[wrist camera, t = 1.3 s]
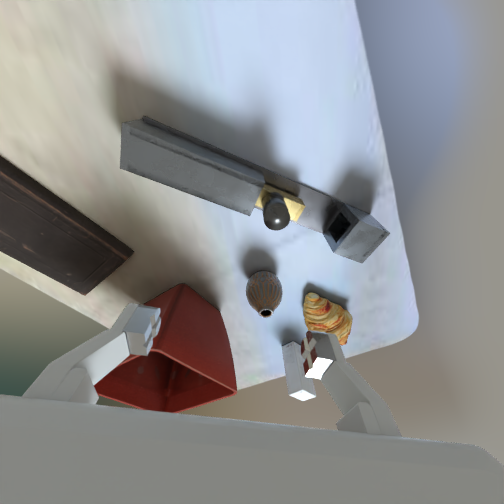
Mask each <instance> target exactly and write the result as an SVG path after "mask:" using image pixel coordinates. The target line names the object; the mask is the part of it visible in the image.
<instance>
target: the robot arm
mask: <svg viewBox="0 0 504 504" xmlns="http://www.w3.org/2000/svg"><path fill="white" fill-rule="evenodd" d="M159 315H160V308H156V307H151V306H145V305H140V304H133V303H129V304H128V305H127V306H126V307H125V309H124V310H123V312H122V313H121V315H120V316H119V317H118V319H117V320H116V322H115V323H114V325H113V326H112V328H111V329H110V330H105V331H103V332H102V333H100V334H98V335H97V336H95V337H93V338H92V339H90V340H88V341H87V342H85V343H83V344H81V345H80V346H78V347H76V348H75V349H73V350H71V351H70V352H68V353H66V354H65V355H63V356H61V357H59V358H58V359H56V360H55V361H53V362H51V363H50V364H49V365H48V366H47V367H46V368H45V369H44V371H43V372H42V373H41V374H40V375H39V377H38V378H37V379H36V380H35V381H34V383H33V384H32V385H31V386H30V387H29V389H28V390H27V391H26V392H25V393H24V394H23V396H22V397H19V396H9V395H0V504H504V466H503V465H502V464H501V463H500V462H499V461H498V460H497V459H496V458H494V457H493V456H492V455H491V454H490V453H488V452H487V451H486V450H485V449H483V448H481V447H479V446H475V445H471V444H461V443H452V442H443V441H433V440H424V439H414V438H405V437H402V436H401V434H400V431H399V429H398V427H397V425H396V422H395V420H394V418H393V416H392V414H391V411H390V409H389V407H388V405H387V403H386V402H385V401H384V400H383V399H382V398H381V397H380V396H379V395H378V394H377V393H376V392H375V391H374V389H373V388H372V387H371V386H370V385H369V384H368V383H367V382H366V381H365V380H364V379H363V377H361V375H360V374H359V373H358V372H357V371H356V370H355V369H354V368H353V367H352V366H351V365H350V363H346V360H345V357H344V354H343V352H342V349H341V346H340V344H339V341H338V338H337V336H336V335H335V334H331V333H325V332H319V331H311V330H309V331H307V333H306V338H304V339H303V340H302V342H301V356H302V357H303V358H304V360H305V361H304V363H303V367H304V372H305V376H306V377H313V378H319V379H320V380H321V381H322V383H323V385H324V386H325V388H326V389H327V391H328V392H329V394H330V395H331V397H332V398H333V400H334V401H335V403H336V404H337V406H338V408H339V409H340V411H341V412H342V414H343V415H344V416H343V417H342V418H341V419H340V420H339V421H338V422H337V423H336V425H337V429H338V430H329V429H320V428H311V427H301V426H292V425H283V424H273V423H263V422H254V421H245V420H236V419H226V418H217V417H208V416H198V415H189V414H179V413H170V412H160V411H151V410H142V409H131V408H123V407H112V406H104V405H95V404H96V402H97V400H98V394H97V392H96V390H95V387H94V385H95V384H96V383H97V382H99V381H100V380H101V379H102V378H103V377H104V376H106V375H107V374H108V373H109V372H110V371H112V370H113V369H114V368H115V367H116V366H117V365H119V364H120V363H121V362H122V361H123V360H125V359H126V358H127V357H128V356H129V355H130V354H134V355H144V356H148V353H149V351H150V349H151V347H152V345H153V338H154V337H156V336H157V334H158V331H159V328H160V325H161V318H160V316H159Z"/></svg>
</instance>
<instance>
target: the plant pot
mask: <svg viewBox="0 0 504 504" xmlns="http://www.w3.org/2000/svg"><path fill="white" fill-rule="evenodd" d="M144 305H145V306H151V307H156V308H160V315H159V316H160V318H161V325H160V328H159V331H158V334H157V336H156V337H154V338H153V345H152V347H151V349H150V351H149V353H148V356H144V355H134V354H130V355H129V356H128V357H127V358H126V359H125V360H123V361H122V362H121V363H120V364H119V365H117V366H116V367H115V368H114V369H113V370H112V371H110V372H109V373H108V374H107V375H106V376H104V377H103V378H102V379H101V380H100V381H99V382H97V383H96V384H95V385H94V387H95V390H96V392H97V394H98V395H100V396H103V397H106V398H109V399H112V400H115V401H118V402H121V403H124V404H127V405H131V406H133V407H137V408H139V409H142V410H151V411H160V412H170V413H178V412H181V411H185V410H188V409H192V408H195V407H198V406H201V405H204V404H207V403H211V402H214V401H217V400H220V399H223V398H226V397H230V396H233V395H235V394H236V393H237V385H236V377H235V370H234V363H233V358H232V352H231V348H230V343H229V339H228V335H227V331H226V328H225V325H224V322H223V319H222V316H221V313H220V311H218V310H217V309H216V308H215V307H213V306H212V305H211V304H210V303H209V302H207V301H206V300H205V299H204V298H202V297H201V296H200V295H199V294H197V293H196V292H195V291H194V290H192V289H191V288H190V287H189V286H188V285H186V284H183V283H182V284H179V285H177V286H175V287H173V288H171V289H170V290H168V291H166V292H164V293H163V294H161V295H159V296H157V297H156V298H154V299H152V300H150V301H149V302H147V303H145V304H144Z"/></svg>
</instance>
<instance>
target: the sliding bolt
mask: <svg viewBox="0 0 504 504" xmlns="http://www.w3.org/2000/svg"><path fill="white" fill-rule="evenodd" d="M255 206H258V207H260V208H262V209H263V217H264V223H265V225H266V226H267V227H268V228H269V229H271V230H281V229H283V228H285V227H286V226H287V225H288V224H289V222H290V219H291V220H294V221H297V220H298V218H299V216H300V215H301V213H302V211H303V210H304V208H305V207H306V206H305V204H304V202H303V200H302V199H301V198H298V197H295V196H293V195H290V194H288V193H286V192H283V191H281V190H278V189H276V188H274V187H271V186H269V185H266V184H264V186H263V189H262V191H261V193H260V195H259V197H258V200H257V202H256V204H255Z"/></svg>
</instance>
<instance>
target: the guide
mask: <svg viewBox="0 0 504 504" xmlns="http://www.w3.org/2000/svg"><path fill="white" fill-rule="evenodd" d="M120 168H121V169H123V170H126V171H129V172H132V173H134V174H137V175H140V176H142V177H145V178H148V179H151V180H153V181H156V182H159V183H161V184H164V185H167V186H170V187H172V188H175V189H178V190H180V191H183V192H186V193H189V194H191V195H194V196H197V197H199V198H202V199H205V200H208V201H210V202H213V203H216V204H218V205H221V206H224V207H227V208H229V209H232V210H235V211H237V212H240V213H243V214H246V215H248V216H250V215H251V213H252V211H253V208H257V209H260V210H262V211H263V209H262V208H260V207H258V206H255V204H256V202H257V200H258V197H259V195H260V193H261V191H262V189H263V186H264V184H266V185H269V186H271V187H274V188H276V189H278V190H281V191H283V192H286V193H288V194H290V195H293V196H295V197H298V198H301V199H302V200H303V202H304V204H305V206H306V207H305V208H304V210H303V211H302V213H301V215H300V216H299V218H298V220H297V221H294V220H291V219H290V221H291V222H294V223H296V224H299V225H302V226H304V227H307V228H309V229H312V230H315V231H317V232H320V233H323V235H324V237H325V238H326V240H327V242H328V244H329V246H330V247H331V249H332V251H333V253H335V254H338V255H340V256H343V257H346V258H349V259H351V260H354V261H357V262H360V263H363V262H364V261H365V260H366V259H367V258H368V257H369V256H370V255H371V254H372V252H373V251H374V250H375V249H376V248H377V247H378V246H379V245H380V244H381V243H382V242H383V241H384V240H385V239H386V237H387V236H388V235H389V234H390V233H389V232H388V231H387V230H386V229H385V228H384V227H383V226H382V225H381V224H380V223H379V222H378V221H377V220H376V219H375V218H373V217H372V216H371V215H370V214H368V213H366V212H363V211H361V210H359V209H356V208H354V207H352V206H350V205H347V204H345V203H343V202H340V201H338V200H336V199H334V198H331V197H329V196H327V195H324V194H322V193H320V192H317V191H315V190H313V189H311V188H308V187H306V186H304V185H301V184H299V183H297V182H295V181H292V180H290V179H288V178H285V177H283V176H281V175H278V174H276V173H274V172H272V171H269V170H267V169H265V168H262V167H260V166H258V165H256V164H253V163H251V162H249V161H246V160H244V159H242V158H240V157H237V156H235V155H233V154H230V153H228V152H226V151H223V150H221V149H219V148H217V147H214V146H212V145H210V144H207V143H205V142H203V141H201V140H198V139H196V138H194V137H191V136H189V135H187V134H184V133H182V132H180V131H178V130H175V129H173V128H171V127H168V126H166V125H164V124H162V123H159V122H157V121H155V120H152V119H150V118H148V117H146V116H143V120H142V119H139V120H134V121H130V122H125V123H122V135H121V157H120Z"/></svg>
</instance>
